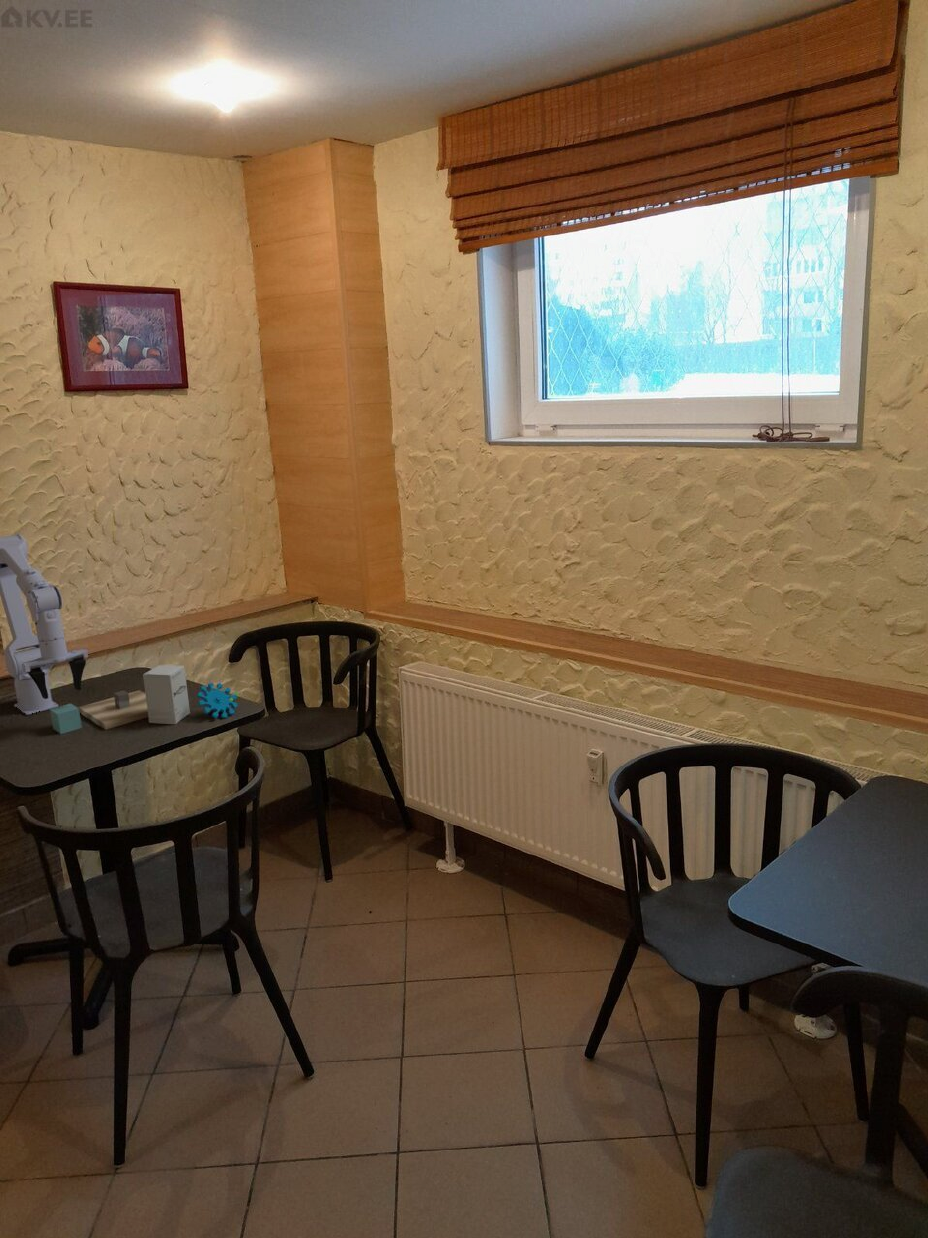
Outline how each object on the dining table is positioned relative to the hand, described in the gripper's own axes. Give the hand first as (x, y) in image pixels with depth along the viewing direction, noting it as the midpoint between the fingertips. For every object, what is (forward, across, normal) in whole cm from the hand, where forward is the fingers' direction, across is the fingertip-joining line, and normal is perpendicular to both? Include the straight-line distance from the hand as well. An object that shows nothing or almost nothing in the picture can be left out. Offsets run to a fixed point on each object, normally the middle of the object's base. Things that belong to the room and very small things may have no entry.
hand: (61, 693), depth 223 cm
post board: (+9, +14, +1) cm, 17 cm away
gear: (+11, +30, -19) cm, 37 cm away
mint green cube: (+9, 0, +1) cm, 9 cm away
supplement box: (+10, +20, -12) cm, 25 cm away
